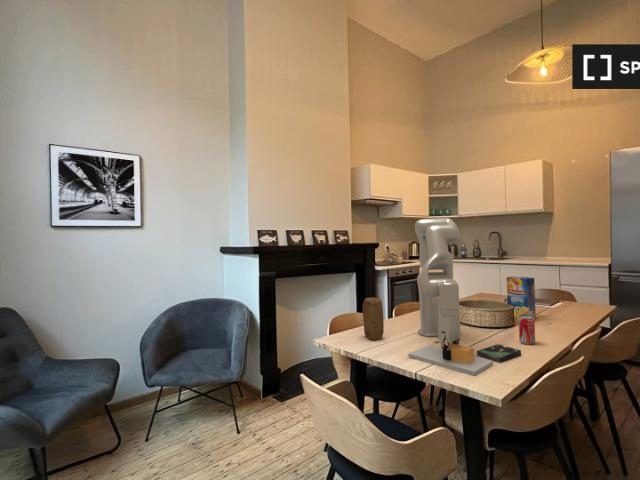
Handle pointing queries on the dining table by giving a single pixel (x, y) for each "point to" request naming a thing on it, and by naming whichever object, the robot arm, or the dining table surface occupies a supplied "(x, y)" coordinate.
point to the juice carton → (521, 296)
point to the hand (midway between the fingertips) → (451, 356)
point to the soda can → (526, 330)
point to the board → (436, 358)
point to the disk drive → (498, 353)
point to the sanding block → (461, 353)
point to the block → (373, 318)
